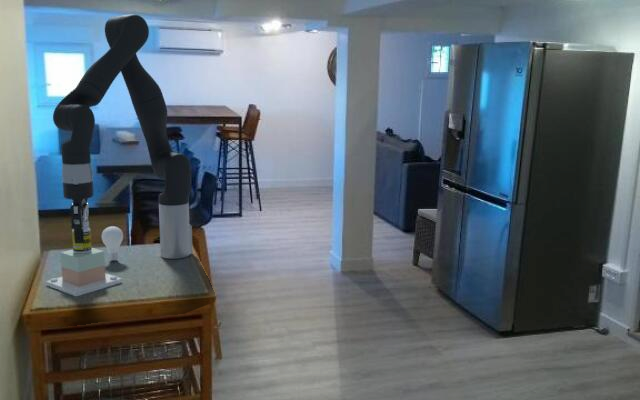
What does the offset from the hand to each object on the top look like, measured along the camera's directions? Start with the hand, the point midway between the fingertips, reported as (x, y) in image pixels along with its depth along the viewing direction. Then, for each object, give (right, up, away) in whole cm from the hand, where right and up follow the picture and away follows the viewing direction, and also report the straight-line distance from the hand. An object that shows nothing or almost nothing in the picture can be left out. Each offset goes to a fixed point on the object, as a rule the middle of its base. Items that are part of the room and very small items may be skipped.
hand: (81, 238), depth 163 cm
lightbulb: (+1, -9, +24) cm, 25 cm away
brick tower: (0, -13, +2) cm, 13 cm away
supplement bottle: (0, -4, +1) cm, 4 cm away
